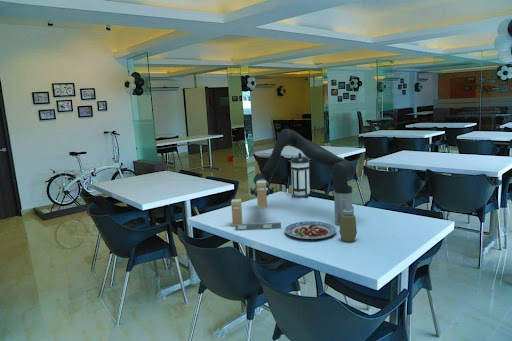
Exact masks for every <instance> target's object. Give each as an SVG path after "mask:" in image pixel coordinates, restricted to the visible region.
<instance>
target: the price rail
mask: <svg viewBox="0 0 512 341" xmlns="http://www.w3.org/2000/svg"><path fill="white" fill-rule="evenodd" d="M277 229H279V230H280V229H282V223H281V222H278V221H277V222H258V223H257V222H256V223H253V222H252V223H242V224H235V227H234V230H235V231H253V230H254V231H256V230H277Z"/></svg>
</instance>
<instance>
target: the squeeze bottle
mask: <svg viewBox="0 0 512 341" xmlns="http://www.w3.org/2000/svg"><path fill="white" fill-rule="evenodd" d="M357 230H358V229H357V220H356V215H355V214H354V215H353V210H351V209H350V204H349V203H347V204H346V208H345V210H343V214H342V215H341V220H340V225H339V234H340V237H341V238H340V239H341V241H342V242H347V243H348V242H350V243H351V242H354V241H355V239H356V237H357V234H358V231H357Z"/></svg>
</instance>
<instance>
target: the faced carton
mask: <svg viewBox="0 0 512 341" xmlns="http://www.w3.org/2000/svg"><path fill="white" fill-rule="evenodd" d="M230 205H231V206H230V207H231V220H232V227H233V228H235V224H243V210H242V209H243V207H242V198H236V199H234V198H233V199H231V202H230Z"/></svg>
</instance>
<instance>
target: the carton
mask: <svg viewBox="0 0 512 341" xmlns="http://www.w3.org/2000/svg"><path fill="white" fill-rule="evenodd" d="M266 192H267V191H266V180H265V181H257V196H256V197H257V198H256V200H257V209H268V196H267V195H266Z"/></svg>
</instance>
